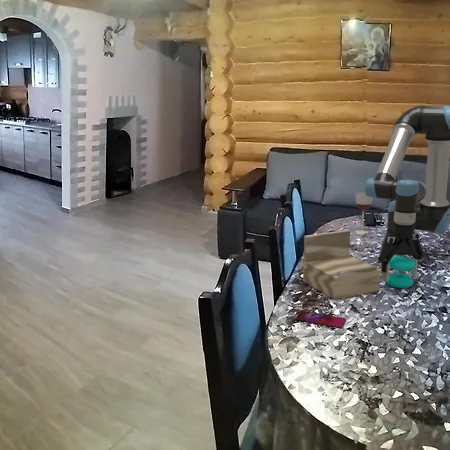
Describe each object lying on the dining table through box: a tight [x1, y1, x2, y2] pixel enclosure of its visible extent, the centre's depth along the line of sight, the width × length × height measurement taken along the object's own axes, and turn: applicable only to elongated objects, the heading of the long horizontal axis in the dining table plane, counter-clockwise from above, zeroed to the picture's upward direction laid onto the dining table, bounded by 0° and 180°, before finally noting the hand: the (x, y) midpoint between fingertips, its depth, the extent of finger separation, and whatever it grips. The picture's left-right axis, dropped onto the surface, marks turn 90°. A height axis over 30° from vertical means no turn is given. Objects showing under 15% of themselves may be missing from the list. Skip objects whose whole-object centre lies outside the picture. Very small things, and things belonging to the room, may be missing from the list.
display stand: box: [302, 229, 382, 300], centre depth 193 cm, size 20×20×18 cm
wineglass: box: [354, 191, 374, 235], centre depth 267 cm, size 8×9×20 cm
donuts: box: [385, 255, 415, 289], centre depth 196 cm, size 10×10×10 cm
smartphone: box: [294, 310, 347, 329], centre depth 167 cm, size 8×1×15 cm
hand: (399, 277), depth 196 cm, fingers open, 13 cm apart
